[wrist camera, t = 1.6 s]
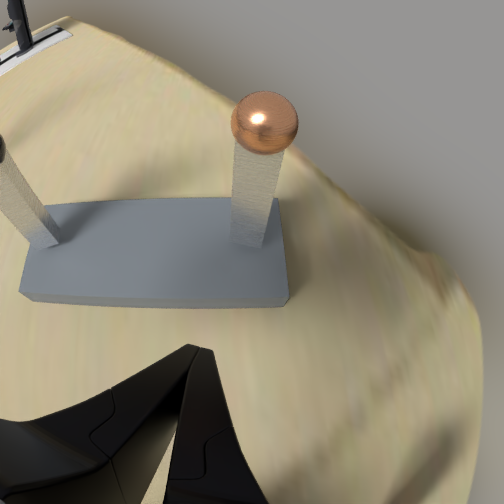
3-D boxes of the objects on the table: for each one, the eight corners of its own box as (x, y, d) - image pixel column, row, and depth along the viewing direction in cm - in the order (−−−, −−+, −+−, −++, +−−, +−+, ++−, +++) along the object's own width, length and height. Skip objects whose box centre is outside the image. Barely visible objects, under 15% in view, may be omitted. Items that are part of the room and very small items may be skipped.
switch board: (283, 306, 24) (289, 296, 21) (32, 301, 21) (18, 291, 19) (273, 214, 28) (277, 198, 26) (52, 219, 25) (42, 205, 23)
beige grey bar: (63, 250, 20) (-17, 143, 10) (33, 259, 20) (-51, 164, 9) (63, 219, 22) (-1, 111, 11) (35, 228, 21) (-34, 131, 10)
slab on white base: (72, 36, 53) (60, -44, 28) (-5, 79, 43) (-29, 1, 18) (56, 25, 62) (46, -34, 37) (-3, 58, 53) (-19, 0, 28)
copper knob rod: (264, 259, 22) (301, 123, 11) (221, 249, 22) (223, 107, 11) (271, 223, 23) (307, 87, 12) (231, 214, 23) (241, 75, 12)
